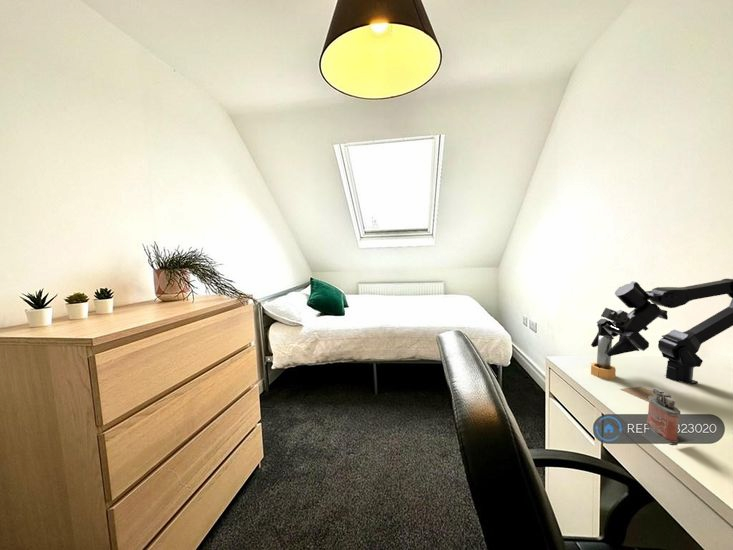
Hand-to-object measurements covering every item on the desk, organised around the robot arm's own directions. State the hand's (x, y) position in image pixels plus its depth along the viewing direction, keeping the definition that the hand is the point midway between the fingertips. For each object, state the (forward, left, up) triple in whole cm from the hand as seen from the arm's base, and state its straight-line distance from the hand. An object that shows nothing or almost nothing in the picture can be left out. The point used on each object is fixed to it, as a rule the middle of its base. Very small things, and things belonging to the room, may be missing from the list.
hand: (599, 350), depth 108 cm
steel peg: (-1, +1, -8) cm, 8 cm away
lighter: (+16, +31, -9) cm, 35 cm away
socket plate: (-1, +1, -9) cm, 9 cm away
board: (0, +15, -9) cm, 17 cm away
